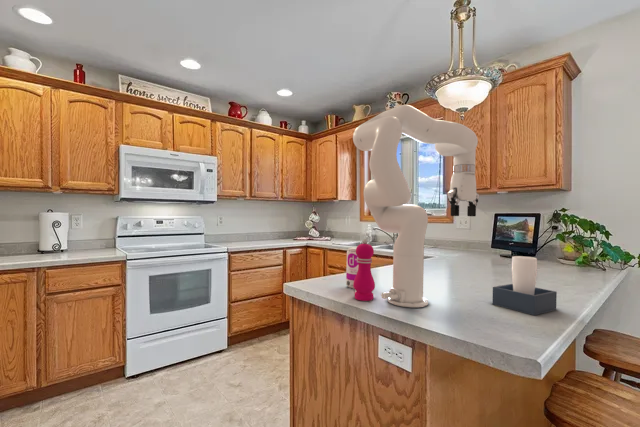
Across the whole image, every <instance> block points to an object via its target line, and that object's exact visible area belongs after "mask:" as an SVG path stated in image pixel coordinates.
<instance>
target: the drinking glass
mask: <svg viewBox="0 0 640 427" xmlns="http://www.w3.org/2000/svg"><path fill="white" fill-rule="evenodd" d="M537 275H538V258H537V257H533V256H523V255H512V256H511V278H512V284H513V291H516V292H521V293H525V294H530V295H534V293H535V287H536V286H537V285H536V283H537V278H538V277H537Z"/></svg>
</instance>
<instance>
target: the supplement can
mask: <svg viewBox="0 0 640 427" xmlns="http://www.w3.org/2000/svg"><path fill="white" fill-rule="evenodd" d="M356 248H357V246H352V247H351V246H350V247H348V249H347V251H346V268H345V270H346V272H345V274H346V275H345V276H346V277H345V285H346V286H347V287H348V288H350V289H354V287H353V283H354V279H355V277H356V275H357V272H358V262H357V261H358V259H357V258H358V256H357V254H356Z"/></svg>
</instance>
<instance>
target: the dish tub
mask: <svg viewBox="0 0 640 427" xmlns="http://www.w3.org/2000/svg"><path fill="white" fill-rule="evenodd" d="M557 293H558V292H557V290H556V291H555V290H550V289H547V288H540V287H536V286H535V293H534V295H530V294H525V293H521V292H516V291H513V283H508V284H502V285H497V286H496V285H495V286H492V302H491V303H492V305H494V306H498V307H501V308H505V309H508V310H512V311H516V312H520V313H524V314H527V315H531V316H538V315H542V314H545V313H549V312H552V311H556V310H557V299H558V298H557V297H558V296H557Z"/></svg>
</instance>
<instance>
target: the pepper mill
mask: <svg viewBox="0 0 640 427" xmlns="http://www.w3.org/2000/svg"><path fill="white" fill-rule="evenodd" d="M361 242H362V243H360V244H358V245H357V246H356V247H357V248H356V254H357V256H358V258H357V259H358V261H357V262H358V272H357V275H356V277H355V279H354V283H353V287H354V288H353V290H355V291H354V299H355V300H357V301H362V302H363V301H364V302H370V301H372V300H374V293H373V292H374V290H375V289H376V282H375V279H374V277H373V274H372V268H371V264H372V263H373V258H372V257H373V256H374V252H375V250H374V247H373V246H372V244H369V243H368V239H367V238H363V240H362V241H361Z"/></svg>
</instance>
